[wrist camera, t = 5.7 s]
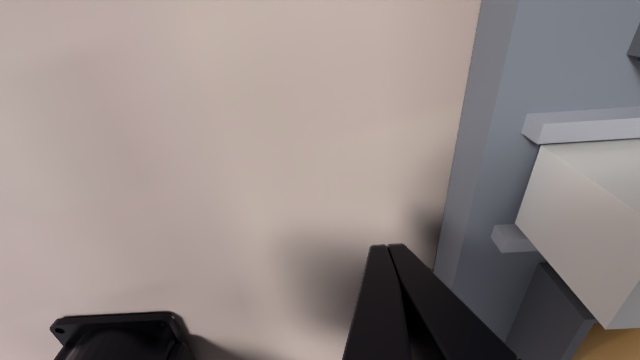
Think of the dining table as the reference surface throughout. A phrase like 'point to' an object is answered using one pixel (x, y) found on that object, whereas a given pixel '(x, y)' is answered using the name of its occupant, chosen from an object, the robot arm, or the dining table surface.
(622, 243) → the lever ivory
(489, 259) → the control panel
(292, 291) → the dining table surface
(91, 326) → the robot arm
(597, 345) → the button amber
